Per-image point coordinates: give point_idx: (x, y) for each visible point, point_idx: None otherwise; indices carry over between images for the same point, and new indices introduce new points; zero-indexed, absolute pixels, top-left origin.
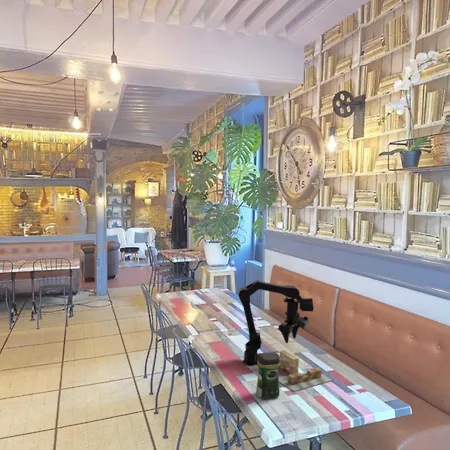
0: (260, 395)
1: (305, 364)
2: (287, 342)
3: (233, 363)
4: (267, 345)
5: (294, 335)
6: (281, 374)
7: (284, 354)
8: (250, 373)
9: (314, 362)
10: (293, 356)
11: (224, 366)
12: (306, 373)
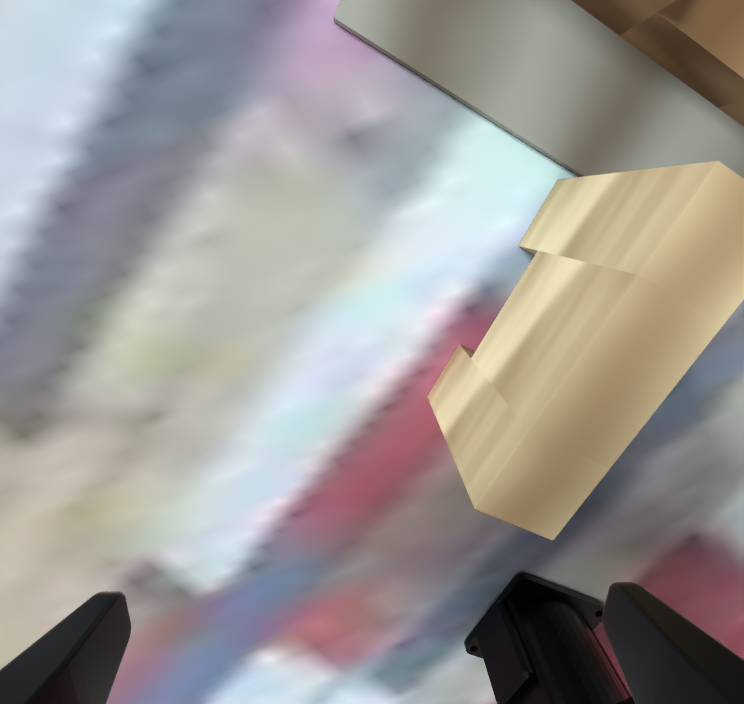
0: None
1: (235, 211)
2: (654, 600)
3: None
4: None
5: (74, 696)
6: None
7: (621, 444)
8: (724, 537)
9: (84, 129)
10: (667, 285)
11: None
12: (665, 16)
